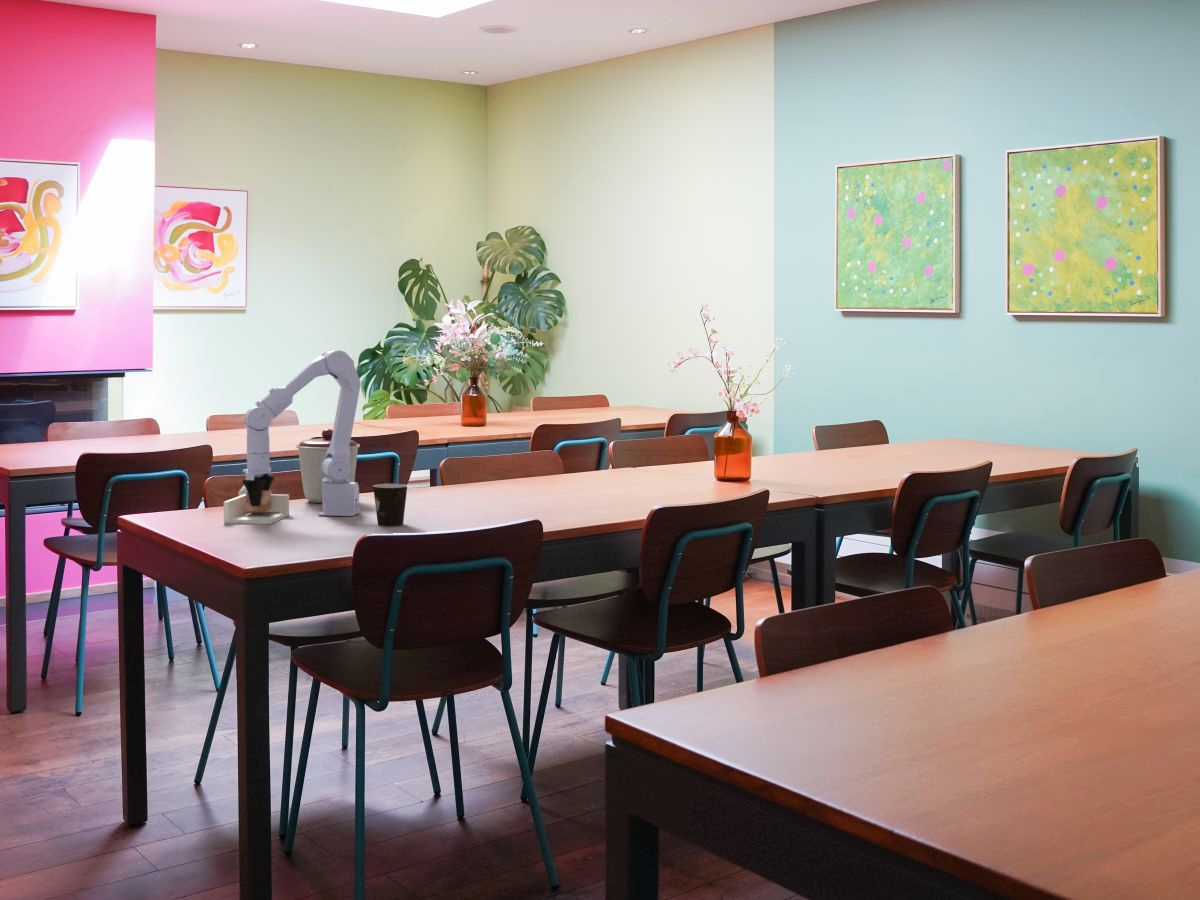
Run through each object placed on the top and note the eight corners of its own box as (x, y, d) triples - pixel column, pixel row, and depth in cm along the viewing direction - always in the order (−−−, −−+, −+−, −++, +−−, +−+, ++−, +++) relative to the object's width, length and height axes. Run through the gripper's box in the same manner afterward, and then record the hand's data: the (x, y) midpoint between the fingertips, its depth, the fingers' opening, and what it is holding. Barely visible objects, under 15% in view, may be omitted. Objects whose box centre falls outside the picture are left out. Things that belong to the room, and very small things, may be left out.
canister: (370, 503, 361) (370, 430, 359) (310, 507, 351) (309, 432, 349) (345, 496, 376) (345, 425, 374) (287, 500, 366) (286, 427, 364)
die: (254, 515, 339) (276, 485, 341) (227, 498, 340) (249, 468, 343) (262, 522, 347) (283, 492, 350) (235, 505, 348) (257, 475, 351)
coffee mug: (375, 522, 325) (374, 483, 324) (408, 522, 326) (408, 483, 325) (370, 529, 313) (370, 489, 312) (405, 528, 314) (405, 489, 313)
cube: (271, 509, 332) (271, 490, 331) (265, 511, 327) (264, 492, 326) (252, 508, 332) (252, 489, 331) (246, 511, 327) (246, 492, 326)
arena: (289, 515, 336) (288, 494, 335) (270, 524, 320) (269, 502, 319) (245, 514, 336) (244, 493, 336) (224, 523, 320) (223, 501, 320)
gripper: (252, 450, 335) (253, 500, 337) (233, 455, 321) (234, 508, 322) (278, 450, 335) (279, 501, 336) (260, 455, 321) (261, 508, 322)
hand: (259, 504), depth 329 cm, fingers closed on cube, 5 cm apart
